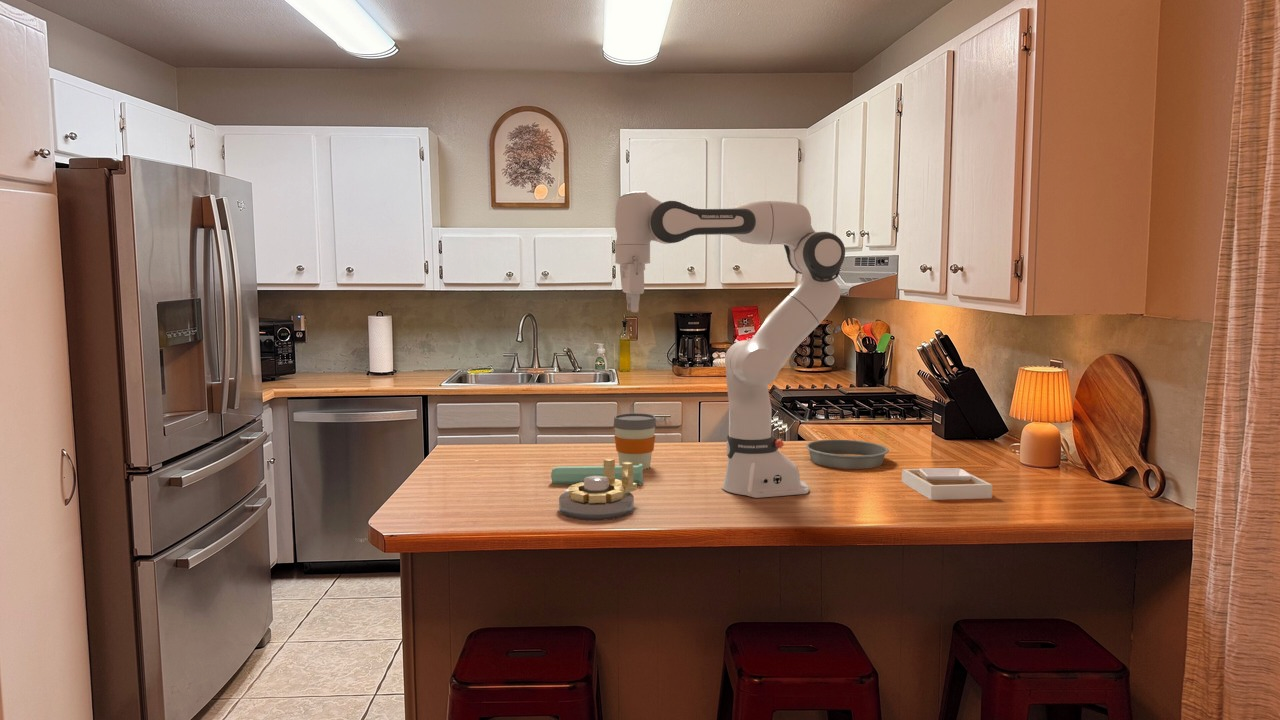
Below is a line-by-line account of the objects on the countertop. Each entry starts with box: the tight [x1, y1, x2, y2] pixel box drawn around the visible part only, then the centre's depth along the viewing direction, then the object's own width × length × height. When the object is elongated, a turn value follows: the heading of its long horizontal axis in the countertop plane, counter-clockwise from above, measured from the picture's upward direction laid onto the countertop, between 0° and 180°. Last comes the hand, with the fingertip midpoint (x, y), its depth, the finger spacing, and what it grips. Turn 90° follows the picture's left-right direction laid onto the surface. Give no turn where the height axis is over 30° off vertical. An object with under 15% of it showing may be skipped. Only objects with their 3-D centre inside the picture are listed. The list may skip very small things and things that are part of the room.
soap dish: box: [916, 467, 975, 485], centre depth 215 cm, size 12×10×5 cm
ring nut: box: [568, 458, 638, 503], centre depth 198 cm, size 17×13×7 cm
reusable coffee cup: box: [613, 412, 657, 470], centre depth 241 cm, size 13×13×15 cm
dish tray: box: [901, 467, 993, 501], centre depth 215 cm, size 16×18×4 cm
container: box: [550, 464, 644, 485], centre depth 222 cm, size 6×6×25 cm
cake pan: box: [805, 439, 890, 470], centre depth 249 cm, size 25×25×4 cm
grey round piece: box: [558, 476, 635, 521], centre depth 197 cm, size 18×18×8 cm
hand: (632, 311), depth 208 cm, fingers open, 8 cm apart
